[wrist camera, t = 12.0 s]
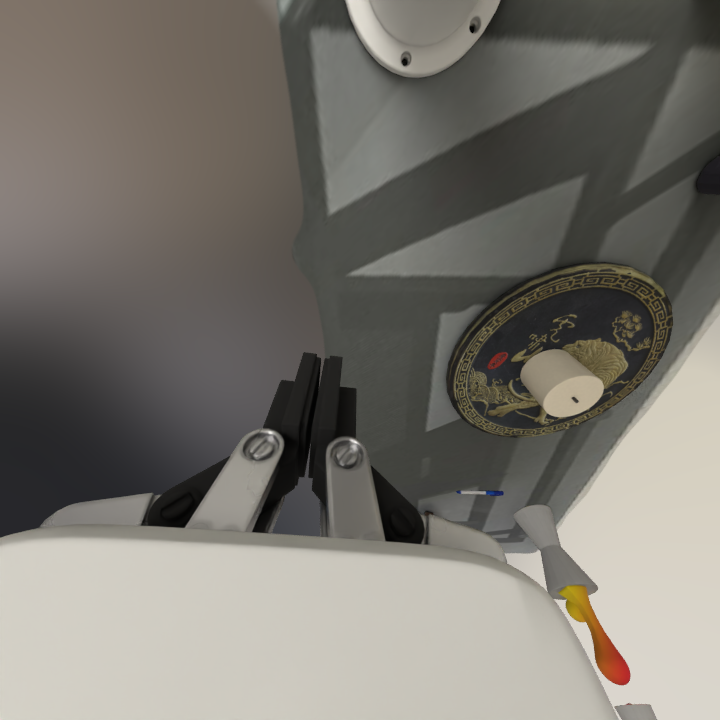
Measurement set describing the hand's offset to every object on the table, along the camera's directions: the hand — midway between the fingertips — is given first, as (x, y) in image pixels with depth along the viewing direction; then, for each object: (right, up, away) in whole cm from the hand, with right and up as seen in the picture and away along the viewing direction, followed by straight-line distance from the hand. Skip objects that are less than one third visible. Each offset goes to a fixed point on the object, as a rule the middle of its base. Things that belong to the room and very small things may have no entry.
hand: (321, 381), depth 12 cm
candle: (+28, 0, +27) cm, 39 cm away
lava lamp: (+44, -37, +54) cm, 79 cm away
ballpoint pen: (+28, -28, +48) cm, 63 cm away
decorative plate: (+30, +1, +29) cm, 41 cm away
